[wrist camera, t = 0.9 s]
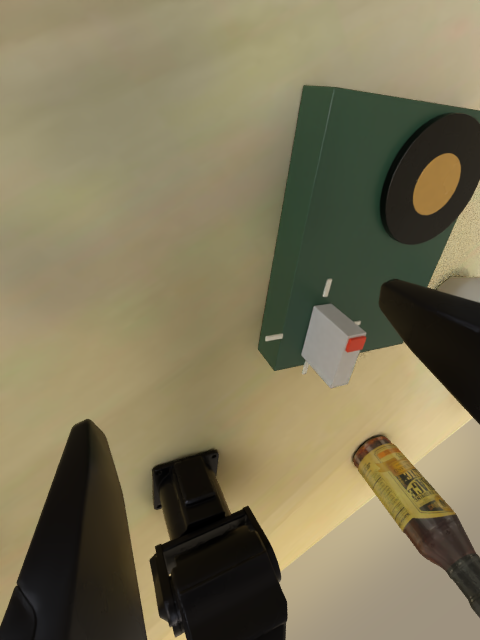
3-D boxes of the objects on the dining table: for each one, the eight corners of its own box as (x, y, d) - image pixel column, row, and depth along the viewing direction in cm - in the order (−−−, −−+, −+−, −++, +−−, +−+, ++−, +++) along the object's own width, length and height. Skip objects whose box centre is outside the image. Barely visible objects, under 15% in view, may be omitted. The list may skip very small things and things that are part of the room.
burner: (445, 240, 28) (452, 242, 28) (364, 244, 25) (370, 248, 24) (498, 119, 24) (507, 120, 23) (407, 105, 20) (416, 106, 20)
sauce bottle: (393, 433, 51) (534, 582, 36) (368, 463, 53) (491, 615, 38) (367, 432, 47) (511, 597, 33) (341, 464, 50) (465, 633, 35)
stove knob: (317, 351, 29) (350, 386, 26) (300, 355, 28) (332, 391, 25) (331, 303, 27) (369, 334, 23) (313, 305, 26) (350, 338, 23)
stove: (377, 334, 36) (400, 352, 34) (241, 360, 30) (257, 384, 28) (464, 110, 26) (505, 114, 24) (282, 81, 20) (313, 83, 17)
